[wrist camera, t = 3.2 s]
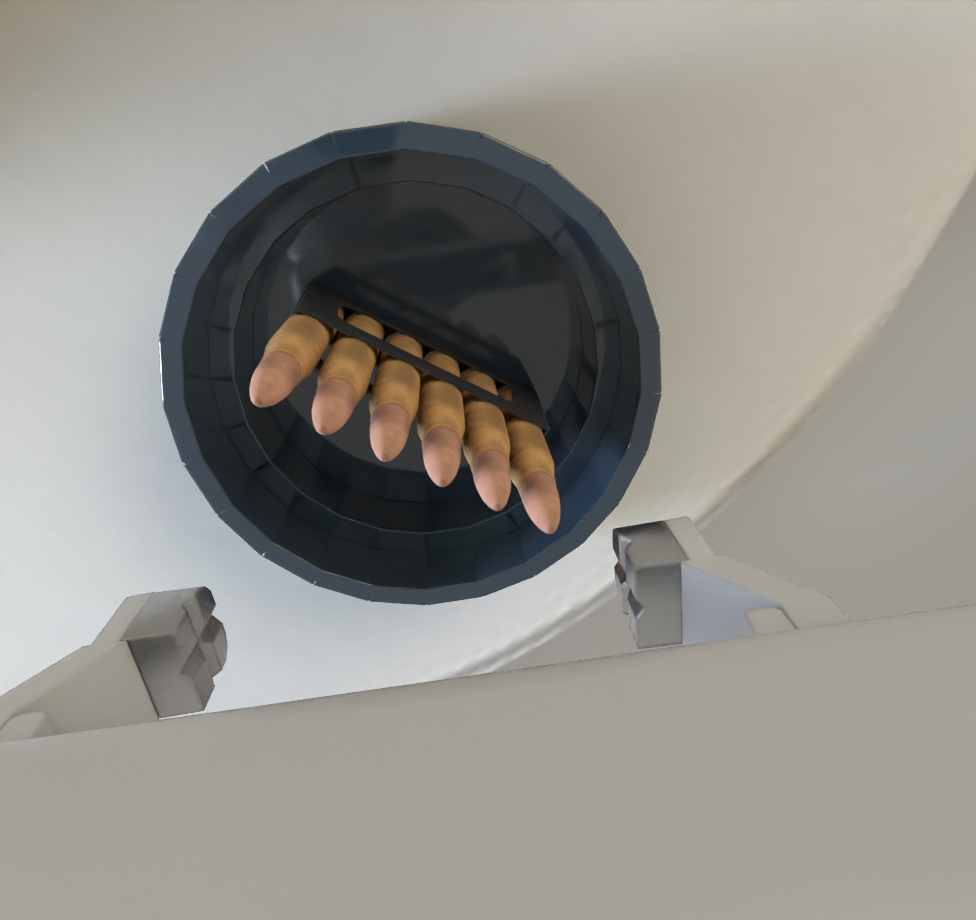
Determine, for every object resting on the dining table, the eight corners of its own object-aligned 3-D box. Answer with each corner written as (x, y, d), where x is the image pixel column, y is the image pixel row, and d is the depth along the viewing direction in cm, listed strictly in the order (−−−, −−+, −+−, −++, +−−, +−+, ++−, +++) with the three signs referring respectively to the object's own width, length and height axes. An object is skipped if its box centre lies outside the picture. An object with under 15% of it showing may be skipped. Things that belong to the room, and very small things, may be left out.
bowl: (271, 556, 33) (239, 634, 28) (154, 165, 26) (80, 167, 21) (629, 502, 34) (667, 569, 28) (608, 101, 27) (653, 85, 21)
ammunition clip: (538, 390, 31) (595, 518, 20) (518, 425, 31) (563, 568, 20) (311, 279, 28) (234, 354, 17) (294, 319, 29) (209, 417, 18)
